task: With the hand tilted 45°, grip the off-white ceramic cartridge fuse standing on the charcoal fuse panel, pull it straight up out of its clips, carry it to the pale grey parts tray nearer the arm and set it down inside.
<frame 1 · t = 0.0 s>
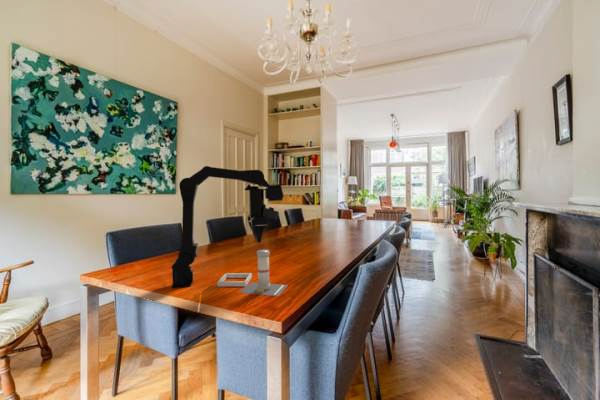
hand: (257, 240, 109), 15 cm above the table, tool pointing down, fingers open, 9 cm apart
fuse panel: (264, 291, 93), on the table
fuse: (263, 288, 93), point 1 cm above the table, touching fuse panel
parts tray: (235, 284, 101), on the table
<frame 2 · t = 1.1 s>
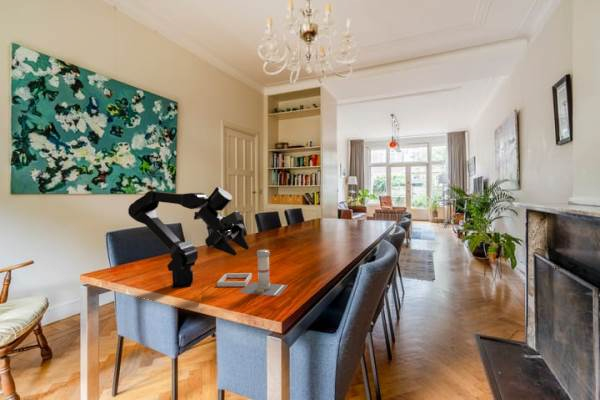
hand: (242, 251, 95), 13 cm above the table, tool tilted 45°, fingers open, 9 cm apart
nothing on the table moved.
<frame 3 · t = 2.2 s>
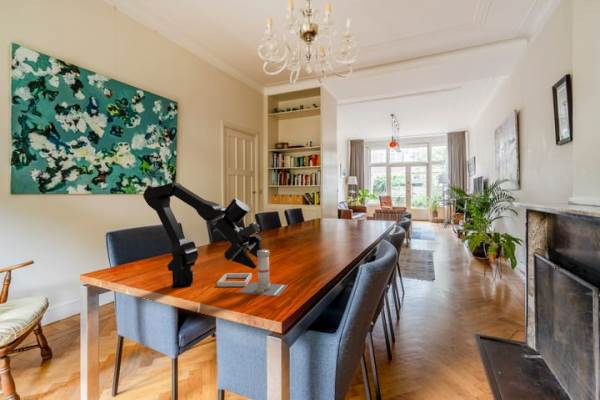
hand: (260, 264, 93), 9 cm above the table, tool tilted 45°, fingers open, 9 cm apart
nothing on the table moved.
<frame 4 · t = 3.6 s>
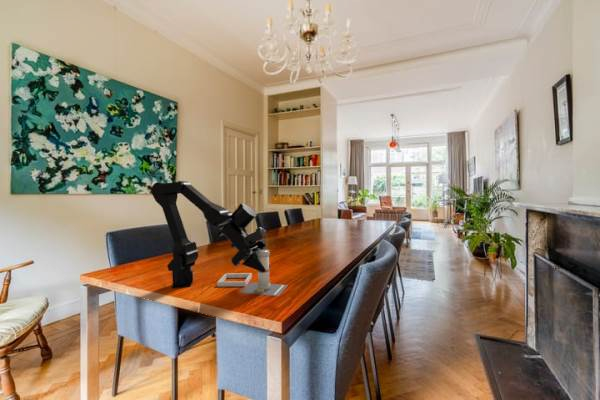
hand: (267, 269, 93), 8 cm above the table, tool tilted 45°, fingers closed on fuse, 4 cm apart
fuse: (263, 288, 93), point 1 cm above the table, touching fuse panel, gripper
everything else where it was.
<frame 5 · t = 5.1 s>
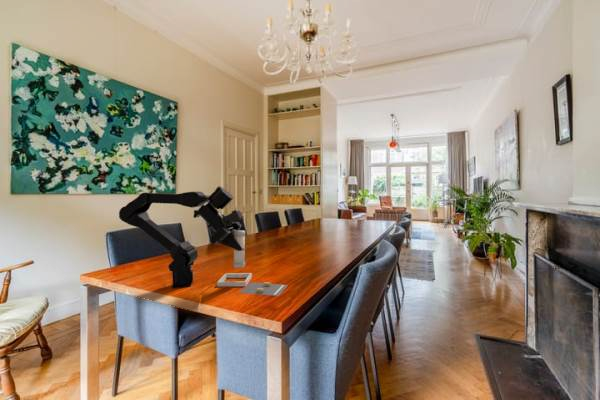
hand: (243, 248, 100), 13 cm above the table, tool tilted 45°, fingers closed on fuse, 4 cm apart
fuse: (239, 266, 100), point 7 cm above the table, touching gripper
everything else where it was.
when the fingers open (8 cm above the table, at t = 6.8 s): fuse drops 1 cm, resting on parts tray.
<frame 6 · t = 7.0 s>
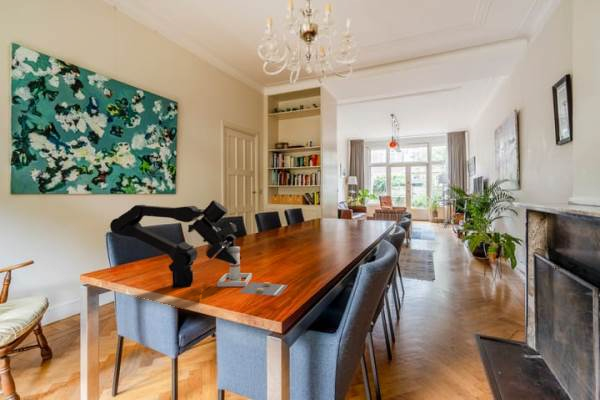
hand: (238, 261, 101), 9 cm above the table, tool tilted 45°, fingers open, 6 cm apart
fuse: (235, 282, 101), point 1 cm above the table, touching parts tray
everything else where it was.
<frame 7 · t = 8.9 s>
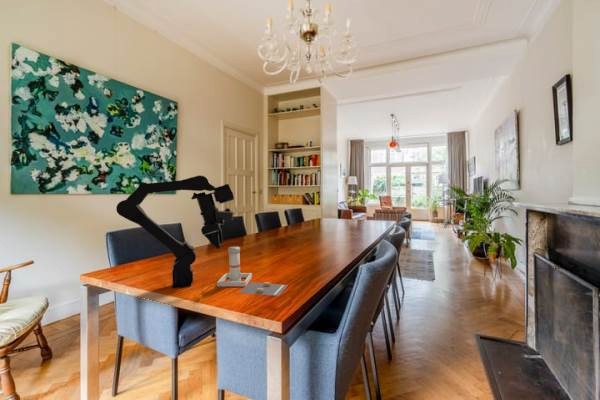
hand: (220, 245, 106), 13 cm above the table, tool tilted 15°, fingers open, 9 cm apart
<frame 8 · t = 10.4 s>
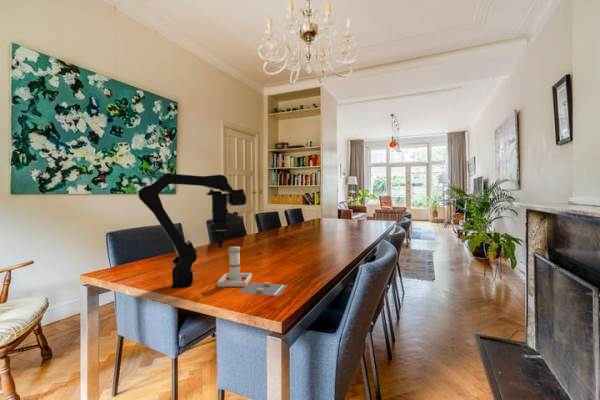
hand: (220, 245, 109), 13 cm above the table, tool pointing down, fingers open, 9 cm apart
at the end: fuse inside the target area on the parts tray (0.0 cm from its centre), point 0.6 cm above the parts tray's base; the gripper is holding nothing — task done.
